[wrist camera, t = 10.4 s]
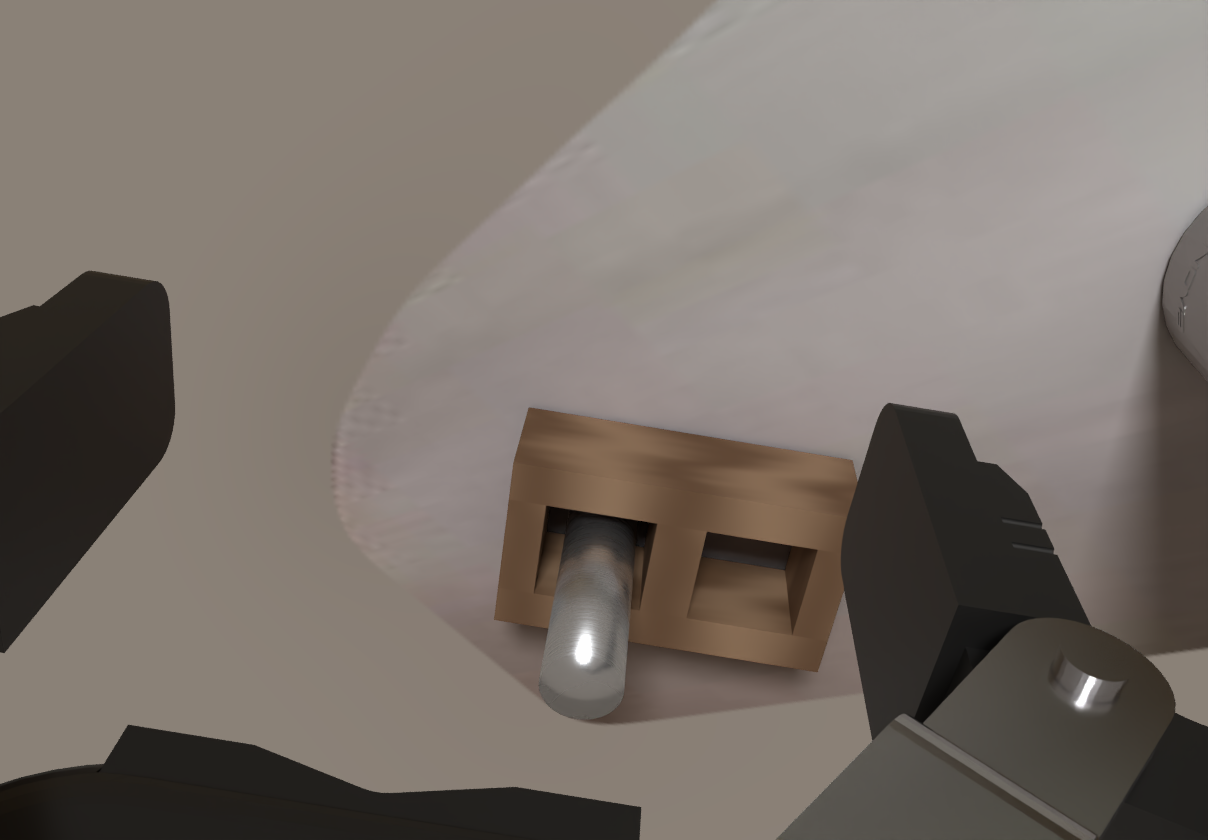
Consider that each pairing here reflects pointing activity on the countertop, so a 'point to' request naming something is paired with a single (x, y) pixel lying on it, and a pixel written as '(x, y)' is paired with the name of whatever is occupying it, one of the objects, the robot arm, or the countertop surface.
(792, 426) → the countertop surface
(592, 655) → the peg
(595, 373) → the countertop surface
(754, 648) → the hole block
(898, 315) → the countertop surface
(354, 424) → the countertop surface
